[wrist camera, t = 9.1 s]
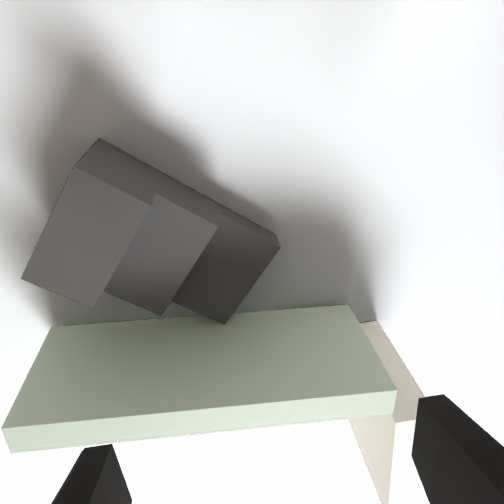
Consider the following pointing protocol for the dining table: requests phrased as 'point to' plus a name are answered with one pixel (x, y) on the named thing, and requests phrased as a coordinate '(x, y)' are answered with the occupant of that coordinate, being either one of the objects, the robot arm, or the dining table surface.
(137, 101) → the dining table surface
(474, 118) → the dining table surface
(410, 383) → the rectangular block
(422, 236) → the dining table surface
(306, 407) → the door
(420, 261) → the dining table surface
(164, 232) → the grey stepped block
